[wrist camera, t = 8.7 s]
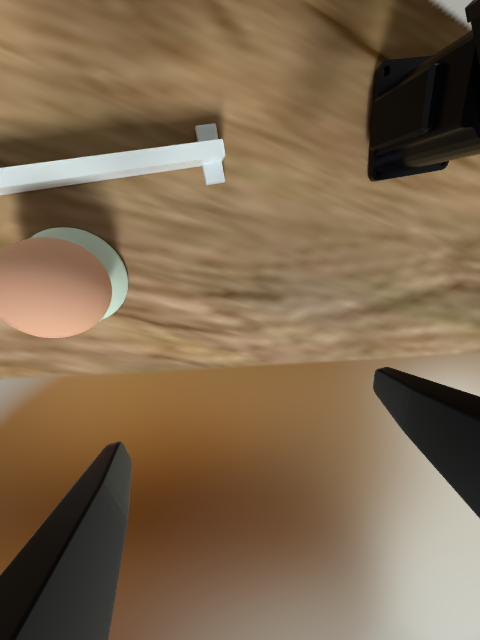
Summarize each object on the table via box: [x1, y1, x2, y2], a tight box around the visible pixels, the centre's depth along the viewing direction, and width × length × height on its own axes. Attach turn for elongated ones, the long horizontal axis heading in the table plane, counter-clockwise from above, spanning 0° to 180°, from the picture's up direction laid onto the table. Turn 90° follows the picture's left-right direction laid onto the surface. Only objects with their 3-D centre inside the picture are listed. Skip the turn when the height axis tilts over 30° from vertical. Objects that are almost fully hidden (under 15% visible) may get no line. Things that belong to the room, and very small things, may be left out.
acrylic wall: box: [0, 123, 225, 195], centre depth 13 cm, size 16×3×2 cm, turn 99°
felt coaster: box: [31, 227, 128, 320], centre depth 16 cm, size 6×6×1 cm
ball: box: [0, 237, 112, 338], centre depth 13 cm, size 6×6×6 cm
